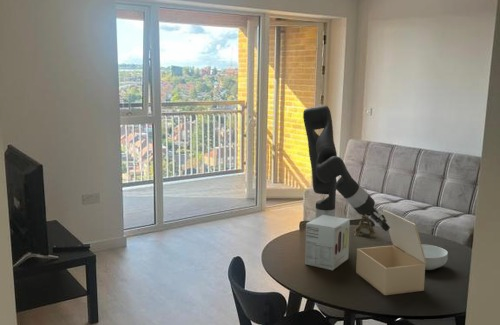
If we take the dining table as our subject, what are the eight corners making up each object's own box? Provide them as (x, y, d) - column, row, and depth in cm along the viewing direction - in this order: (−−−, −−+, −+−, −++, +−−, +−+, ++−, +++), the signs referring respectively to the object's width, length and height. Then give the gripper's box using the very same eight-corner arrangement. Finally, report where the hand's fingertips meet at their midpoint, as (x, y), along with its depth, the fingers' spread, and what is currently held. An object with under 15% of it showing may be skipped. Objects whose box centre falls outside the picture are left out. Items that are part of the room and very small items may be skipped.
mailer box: (384, 295, 171) (385, 268, 170) (356, 272, 192) (357, 248, 191) (423, 290, 175) (425, 264, 174) (391, 268, 196) (392, 245, 195)
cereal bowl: (413, 256, 210) (414, 241, 209) (452, 265, 200) (453, 249, 199) (397, 267, 197) (398, 251, 196) (438, 277, 187) (440, 260, 186)
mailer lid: (414, 224, 170) (415, 224, 170) (382, 209, 191) (383, 209, 191) (425, 263, 173) (426, 263, 174) (392, 244, 195) (393, 244, 195)
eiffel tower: (375, 237, 237) (377, 188, 234) (353, 236, 240) (355, 187, 236) (375, 231, 248) (377, 184, 244) (354, 230, 250) (355, 183, 246)
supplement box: (333, 271, 194) (335, 228, 191) (304, 264, 201) (305, 223, 198) (349, 258, 208) (350, 218, 205) (321, 252, 215) (322, 214, 212)
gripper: (344, 202, 181) (372, 231, 186) (360, 211, 168) (390, 241, 173) (357, 188, 182) (385, 217, 187) (374, 195, 169) (403, 226, 174)
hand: (387, 229), depth 180 cm, fingers closed
